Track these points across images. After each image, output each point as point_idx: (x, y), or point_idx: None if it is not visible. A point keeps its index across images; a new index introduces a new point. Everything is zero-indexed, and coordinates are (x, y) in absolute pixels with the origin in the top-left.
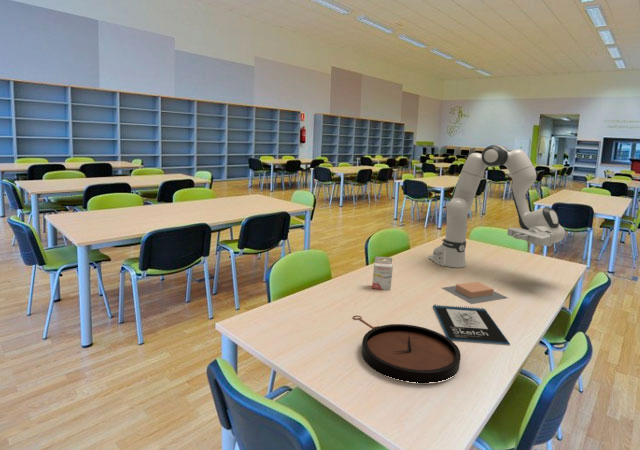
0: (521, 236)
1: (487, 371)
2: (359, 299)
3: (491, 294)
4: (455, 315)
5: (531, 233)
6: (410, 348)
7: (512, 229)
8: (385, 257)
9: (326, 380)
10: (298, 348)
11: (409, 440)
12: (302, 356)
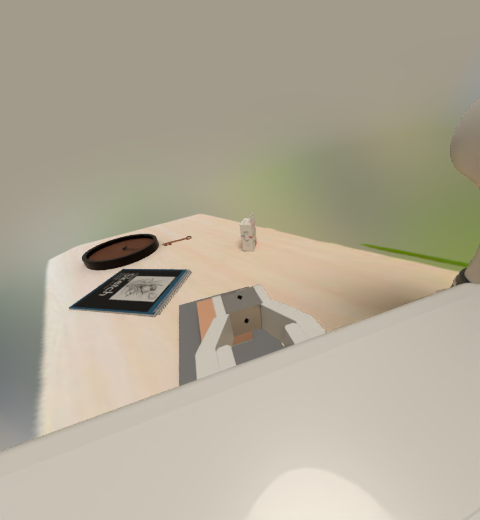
0: (217, 321)
1: (67, 280)
2: (221, 238)
3: None
4: (156, 280)
5: (232, 514)
6: (123, 248)
7: (430, 295)
8: (251, 214)
9: (132, 233)
10: (164, 227)
11: (73, 248)
12: (156, 228)
